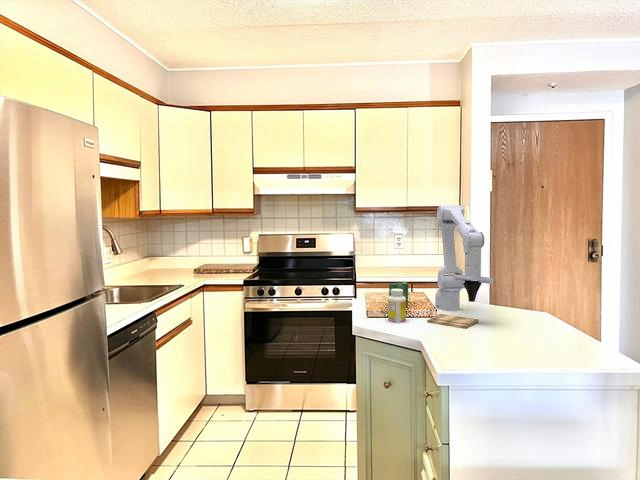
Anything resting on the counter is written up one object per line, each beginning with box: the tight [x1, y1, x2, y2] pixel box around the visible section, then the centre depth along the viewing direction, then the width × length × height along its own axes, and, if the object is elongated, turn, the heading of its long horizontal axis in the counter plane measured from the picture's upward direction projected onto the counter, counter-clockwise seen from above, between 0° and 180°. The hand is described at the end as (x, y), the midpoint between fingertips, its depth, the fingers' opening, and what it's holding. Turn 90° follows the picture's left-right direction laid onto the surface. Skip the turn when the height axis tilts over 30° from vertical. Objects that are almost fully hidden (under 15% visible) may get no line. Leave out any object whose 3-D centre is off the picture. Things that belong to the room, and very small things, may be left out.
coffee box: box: [388, 282, 409, 309], centre depth 195 cm, size 8×3×13 cm, turn 117°
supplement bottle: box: [387, 289, 407, 324], centre depth 182 cm, size 7×7×13 cm
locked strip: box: [426, 318, 470, 330], centre depth 175 cm, size 15×2×1 cm, turn 51°
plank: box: [430, 313, 479, 328], centre depth 179 cm, size 15×8×1 cm, turn 51°
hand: (472, 301), depth 178 cm, fingers closed
